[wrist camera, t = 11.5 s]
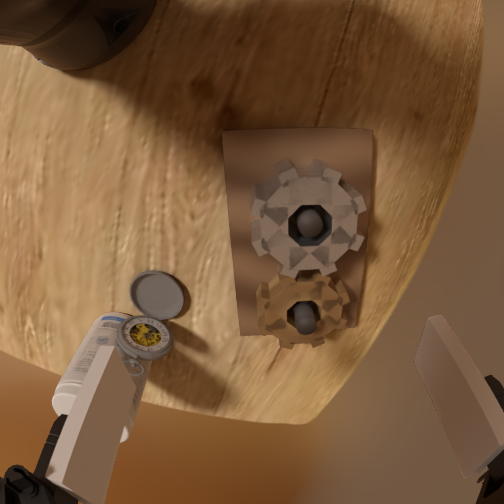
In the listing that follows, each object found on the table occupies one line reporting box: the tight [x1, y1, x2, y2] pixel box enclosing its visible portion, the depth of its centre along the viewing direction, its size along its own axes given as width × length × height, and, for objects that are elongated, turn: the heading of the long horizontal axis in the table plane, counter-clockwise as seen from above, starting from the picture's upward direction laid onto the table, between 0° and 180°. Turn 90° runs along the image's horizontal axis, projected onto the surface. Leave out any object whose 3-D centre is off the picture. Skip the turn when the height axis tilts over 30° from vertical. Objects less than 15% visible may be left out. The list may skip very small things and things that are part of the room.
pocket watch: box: [117, 271, 184, 376], centre depth 31 cm, size 8×8×10 cm
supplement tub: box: [52, 312, 153, 443], centre depth 32 cm, size 10×10×15 cm
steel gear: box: [250, 158, 367, 278], centre depth 27 cm, size 10×10×5 cm
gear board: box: [222, 127, 373, 349], centre depth 29 cm, size 23×14×6 cm, turn 3°
